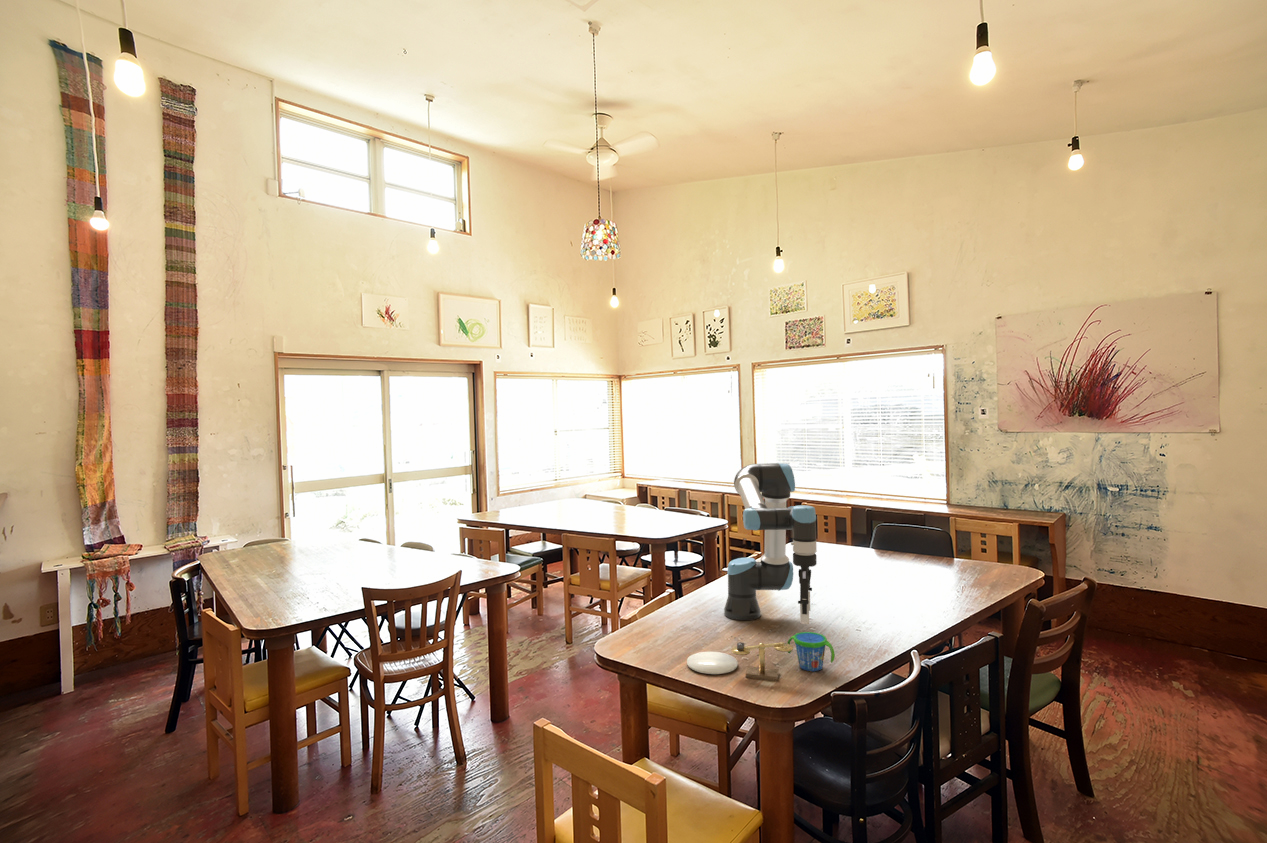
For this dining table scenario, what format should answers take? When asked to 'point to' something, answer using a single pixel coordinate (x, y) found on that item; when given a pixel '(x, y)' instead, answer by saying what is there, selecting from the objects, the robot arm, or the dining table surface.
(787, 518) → the robot arm
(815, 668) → the snack cup
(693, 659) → the dish
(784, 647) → the balance
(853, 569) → the dining table surface
